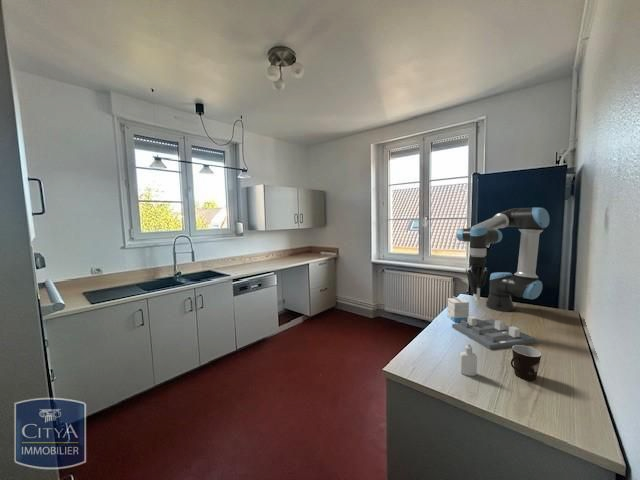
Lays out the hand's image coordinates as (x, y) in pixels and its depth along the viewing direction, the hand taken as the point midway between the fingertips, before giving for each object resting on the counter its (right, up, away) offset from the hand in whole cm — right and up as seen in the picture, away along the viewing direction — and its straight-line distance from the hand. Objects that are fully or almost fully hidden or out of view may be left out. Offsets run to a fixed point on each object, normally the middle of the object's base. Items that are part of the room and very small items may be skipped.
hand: (476, 299), depth 138 cm
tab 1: (-2, -14, +1) cm, 14 cm away
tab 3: (+10, -15, -13) cm, 22 cm away
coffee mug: (-7, -20, -40) cm, 45 cm away
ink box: (-3, -15, +14) cm, 21 cm away
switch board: (+4, -16, -6) cm, 18 cm away
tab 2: (+9, -14, -5) cm, 17 cm away
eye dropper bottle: (-26, -20, -38) cm, 50 cm away
